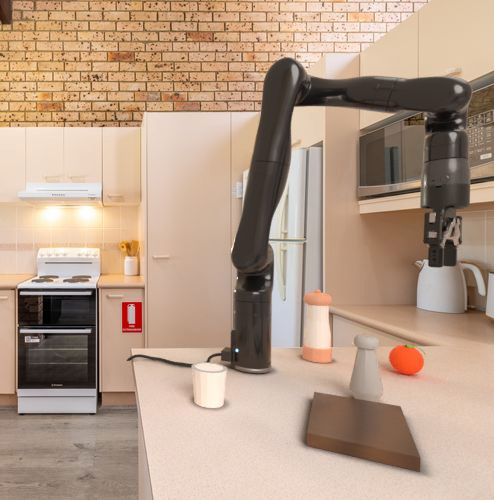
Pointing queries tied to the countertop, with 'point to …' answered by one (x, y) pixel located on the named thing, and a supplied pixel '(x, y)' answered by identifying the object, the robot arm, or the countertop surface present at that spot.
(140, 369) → the countertop surface
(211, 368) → the white short cylinder
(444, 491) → the countertop surface
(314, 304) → the pepper shaker
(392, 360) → the clementine
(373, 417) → the cutting board
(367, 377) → the salt shaker
